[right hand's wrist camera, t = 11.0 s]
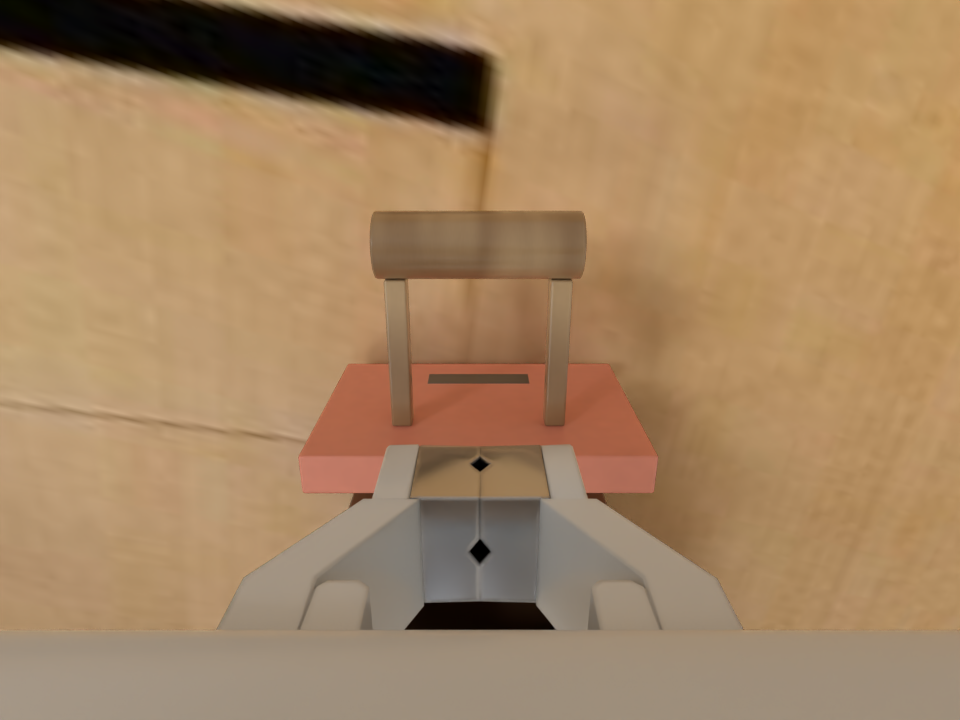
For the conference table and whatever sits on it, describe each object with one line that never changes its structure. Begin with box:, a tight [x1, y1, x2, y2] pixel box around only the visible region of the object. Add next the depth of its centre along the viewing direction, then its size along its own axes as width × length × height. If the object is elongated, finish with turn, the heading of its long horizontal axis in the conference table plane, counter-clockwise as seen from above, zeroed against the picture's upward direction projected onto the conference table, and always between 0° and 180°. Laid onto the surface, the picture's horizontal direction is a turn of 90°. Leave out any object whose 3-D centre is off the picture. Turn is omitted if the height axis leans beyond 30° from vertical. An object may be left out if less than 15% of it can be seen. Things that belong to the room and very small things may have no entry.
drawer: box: [298, 211, 658, 630], centre depth 22 cm, size 24×10×7 cm, turn 0°
